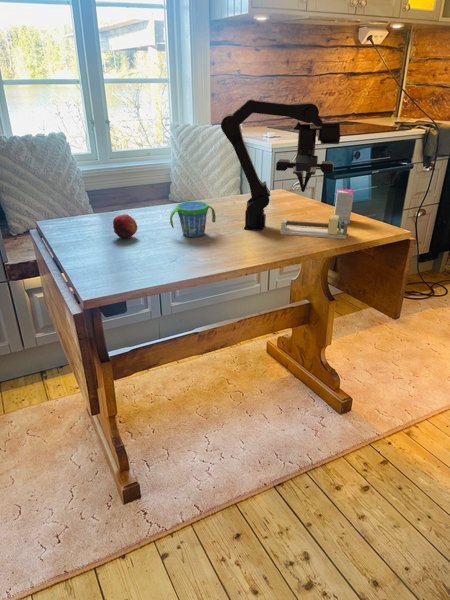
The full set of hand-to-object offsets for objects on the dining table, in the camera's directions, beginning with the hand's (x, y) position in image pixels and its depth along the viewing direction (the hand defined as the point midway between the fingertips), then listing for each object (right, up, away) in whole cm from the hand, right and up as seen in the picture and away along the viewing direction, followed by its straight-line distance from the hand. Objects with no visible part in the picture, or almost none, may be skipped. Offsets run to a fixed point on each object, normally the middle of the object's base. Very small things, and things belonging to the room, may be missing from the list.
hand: (303, 191), depth 159 cm
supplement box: (+16, -8, +13) cm, 22 cm away
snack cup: (-38, -15, +1) cm, 40 cm away
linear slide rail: (+4, -14, +1) cm, 15 cm away
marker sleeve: (+10, -14, -1) cm, 17 cm away
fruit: (-60, -16, -2) cm, 62 cm away
